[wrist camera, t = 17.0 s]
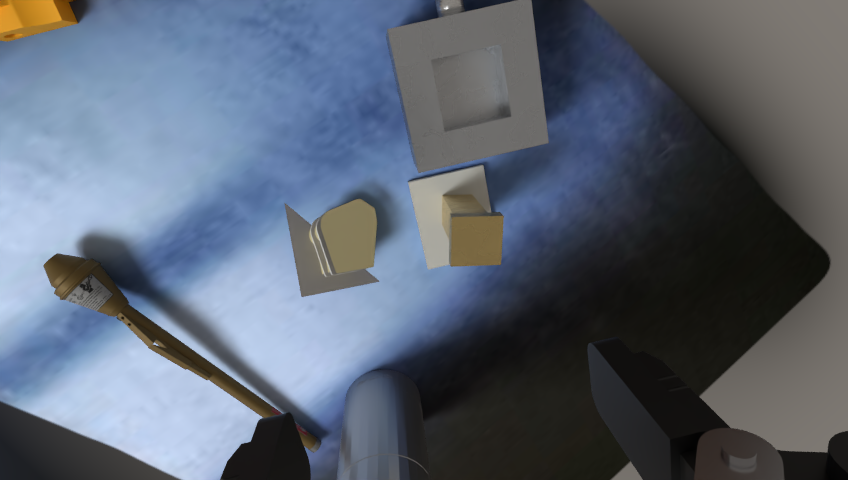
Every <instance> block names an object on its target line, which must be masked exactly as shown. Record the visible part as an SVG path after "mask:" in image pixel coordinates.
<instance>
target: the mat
mask: <svg viewBox="0 0 848 480" xmlns="http://www.w3.org/2000/svg"><path fill="white" fill-rule="evenodd" d="M408 184H409V188H410V193H411V197H412V201H413V206H414V210H415V214H416V219H417V223H418V228H419V232H420V236H421V241H422V245H423V250H424V254H425V258H426V263H427V267H428V269H432V268H437V267H441V266H445V265H449V264H450V263H449V239H448V237H447V235H446V232H445V230H444V228H443V226H442V195H468V194H472V195H473V196H474V197H475V198H476V200H477V201H478V202H479V203H480V204H481V205H482V207H483V208H484V209H485V210H486V211H487V212H491V207H490V202H489V196H488V190H487V184H486V178H485V172H484V166H483V165H477V166H473V167H468V168H464V169H460V170H455V171H451V172H447V173H442V174H438V175H434V176H429V177H425V178H421V179H416V180H412V181H408Z"/></svg>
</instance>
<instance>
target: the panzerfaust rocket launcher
mask: <svg viewBox="0 0 848 480" xmlns="http://www.w3.org/2000/svg"><path fill="white" fill-rule="evenodd" d="M44 268H45V271H46V273H47V276H48V278H49V281H50V283H51V286H53V287H54V288H56V290H55V292H54V294H56V295H57V296H59V297H60V300H63V299H64V300H67V301H69V302H72V303H75V304H78V305H81V306H84V307H87V308H89V309H92V310H95V311H98V312H101V313H104V314H107V315H108V316H113V317H115V316H117V319H118V320H120V321H123V322H124V323H125V324H126V325H127V326H128V327H129V328H130V329H131V330H132V331H133V332H134V333H135V334H136V335H137V336H138V337H139V338H140V339H141V340H142V341H143V342H144V343H145V344H146V345H147V346H148V348H149V349H151V350H153V351H155V352H156V353H158V354H160V355H161V356H163V357H165V358H167V359H168V360H170V361H172V362H173V363H175V364H177V365H179V366H180V367H182V368H184V369H188V370H190V371H192V372H194V373H195V374H197V375H199V376H200V377H202V378H204V379H206V380H210V381H211V382H213V383H214V384H216V385H217V386H218V387H220V388H221V389H223V390H224V391H226V392H227V393H229V394H230V395H231V396H233V397H234V398H236V399H237V400H239V401H240V402H242V403H243V404H244V405H246V406H247V407H249V408H250V409H252V410H253V411H255V412H256V413H257V414H259V415H260V416H262V417H263V418H267V417H271V416H275V415H280V414H282V413H281V412H280V411H278V410H277V409H275V408H274V407H272V406H271V405H270V404H268V403H267V402H265V401H264V400H263V399H261V398H260V397H258V396H257V395H256V394H254V393H253V392H251V391H250V390H248V389H247V388H246V387H244V386H243V385H241V384H240V383H239V382H237V381H236V380H234V379H233V378H232V377H230V376H229V375H227V374H226V373H225V372H223V371H222V370H220V369H219V368H217V367H216V366H215V365H213V364H212V363H210V362H209V361H208V360H206V359H205V358H203V357H202V356H201V355H199V354H198V353H196V352H195V351H193V350H192V349H191V348H189V347H188V346H186V345H185V344H184V343H182V342H181V341H179V340H178V339H177V338H175V337H174V336H172V335H171V334H170V333H168V332H167V331H165V330H164V329H162V328H161V327H160V326H158V325H157V324H155V323H154V322H153V321H151V320H150V319H148V318H147V317H146V316H144V315H143V314H141V313H140V312H138V311H137V310H136V309H134V308H133V307H131V306H130V305H129V304H128V303H129V302H128V300H127V298H126V297H125V296H124V295H123V293H122V292H121V291H120V290H119V288H118V287H117V286H116V284H115V283H114V282H113V281H112V279H111V278H110V277H109V275H108V274H107V273H106V272H105V270H104V269H103V268H102V266H101V263H97V262H96V261H95V260H93V259H90V260H85V259H84V258H82V257H76V256H69V255H63V254H56V255H54V256H53V257H52V258H50V259H49V260H48V261H47V262H46V263H45V264H44ZM154 342H155V343H156V344H158V345H159V346H156V345H153V343H154ZM295 424H296V423H295ZM296 426H297V429H298V432H299V434H300V437H301V440H302V443H303V445H304V446H305V447H306V448H308V449H309V450H310V451H312V452H313V453H314V452H316V451H317V450H318V449H319V447H320V445H321V440H320V439H318V438H317V437H315V436H313V435H312V434H311V433H309V432H308V431H306V430H305V429H303V428H302V427H301V426H299V425H298V424H296Z"/></svg>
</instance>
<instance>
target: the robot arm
mask: <svg viewBox="0 0 848 480" xmlns="http://www.w3.org/2000/svg"><path fill="white" fill-rule="evenodd" d="M588 359H589V369H590V379H591V388H592V395H593V399H594V402H595V405H596V407H597V410H598V412H599V414H600V415H601V417H602V418H603V420H604V421H605V423H606V425H607V426H608V428H609V429H610V431H611V432H612V434H613V435H614V437H615V438H616V440H617V441H618V443H619V444H620V446H621V447H622V449H623V450H624V452H625V453H626V455H627V456H628V458H629V459H630V461H631V462H632V464H633V465H634V467H635V468H636V470H637V471H638V473H639V474H640V476H641V477H642V479H643V480H848V431H845V432H841V433H838V434H836V435H834V436H833V437H832V438H831V439H830V441H829V445H828V453H824V452H794V451H792V452H791V451H780V450H776V449H775V448H774V447H773V446H772V445H771V444H770V443H769V442H767V441H766V440H764V439H763V438H761V437H759V436H757V435H755V434H753V433H750V432H747V431H744V430H740V429H734V428H730V427H729V426H728V425H727V424H726V423H725V422H724V421H723V420H722V419H721V418H720V417H719V416H718V415H717V414H716V413H715V412H714V411H713V410H712V409H711V408H710V407H709V406H708V405H707V404H706V403H705V402H704V401H703V400H702V399H701V398H700V397H699V396H698V395H697V394H696V393H695V392H694V391H693V390H692V389H691V388H690V387H689V388H688V387H687V384H686V383H685V382H684V381H683V380H682V379H681V378H680V377H679V376H678V377H677V376H676V373H675V372H674V371H673V370H672V369H671V368H670V367H668V366H667V365H666V364H665V363H664V362H663V361H662V360H660V359H658V358H656V357H654V356H652V355H650V354H648V353H646V352H644V351H642V352H638V353H633V352H632V351H631V350H630V349H629V348H628V347H627V346H626V345H625V344H624V343H623V342H622V340H621V339H619V338H618V337H614V338H610V339H606V340H601V341H597V342H593V343H589V344H588ZM310 478H311V474H310V464H309V459H308V456H307V453H306V451H305V448H304V445H303V443H302V440H301V437H300V434H299V432H298V429H297V426H296V424H295V421H294V419H293V416H292V415H291V414H290V413H284V414H280V415H275V416H271V417H267V418H262V419H260V420H259V421H258V423H257V426H256V429H255V432H254V434H253V437H252V440H251V442H248V443H244V444H241V445H240V447H239V448H238V449H237V450H236V452H235V453H234V454H233V455H232V456H231V458H230V459H229V460H228V461H227V464H226V466H225V469H224V471H223V474H222V476H221V479H220V480H310ZM337 480H431V476H430V469H429V461H428V453H427V446H426V438H425V430H424V423H423V414H422V406H421V399H420V394H419V390H418V388H417V386H416V384H415V383H414V382H413V381H412V380H411V379H410V378H409V377H408V376H406V375H405V374H403V373H400V372H398V371H394V370H388V369H380V370H374V371H371V372H368V373H365V374H364V375H362V376H360V377H359V378H358V379H356V380H355V381H354V382H353V383H352V385H351V386H350V387H349V389H348V391H347V394H346V399H345V407H344V416H343V425H342V434H341V444H340V454H339V464H338V473H337Z"/></svg>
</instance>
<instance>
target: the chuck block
mask: <svg viewBox="0 0 848 480" xmlns="http://www.w3.org/2000/svg"><path fill="white" fill-rule="evenodd" d="M435 3H436V8H437V14H438V18H436V19H431V20H427V21H422V22H418V23H413V24H409V25H404V26H400V27H395V28H391V29H387V34H386V40H387V45H388V49H389V54H390V58H391V63H392V67H393V72H394V76H395V81H396V85H397V90H398V94H399V99H400V103H401V108H402V113H403V117H404V122H405V126H406V131H407V135H408V140H409V144H410V149H411V153H412V158H413V161H414V164H415V166H416V168H417V170H418V173H421V172H425V171H429V170H434V169H438V168H442V167H447V166H451V165H455V164H460V163H464V162H468V161H473V160H477V159H481V158H486V157H490V156H494V155H499V154H503V153H507V152H512V151H516V150H520V149H525V148H529V147H533V146H538V145H542V144H547V143H549V141H548V133H547V124H546V116H545V108H544V100H543V92H542V83H541V75H540V67H539V59H538V51H537V42H536V34H535V26H534V18H533V10H532V1H531V0H516V1H512V2H507V3H503V4H498V5H494V6H489V7H485V8H480V9H476V10H471V11H467V12H465V9H464V3H463V0H435Z"/></svg>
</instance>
